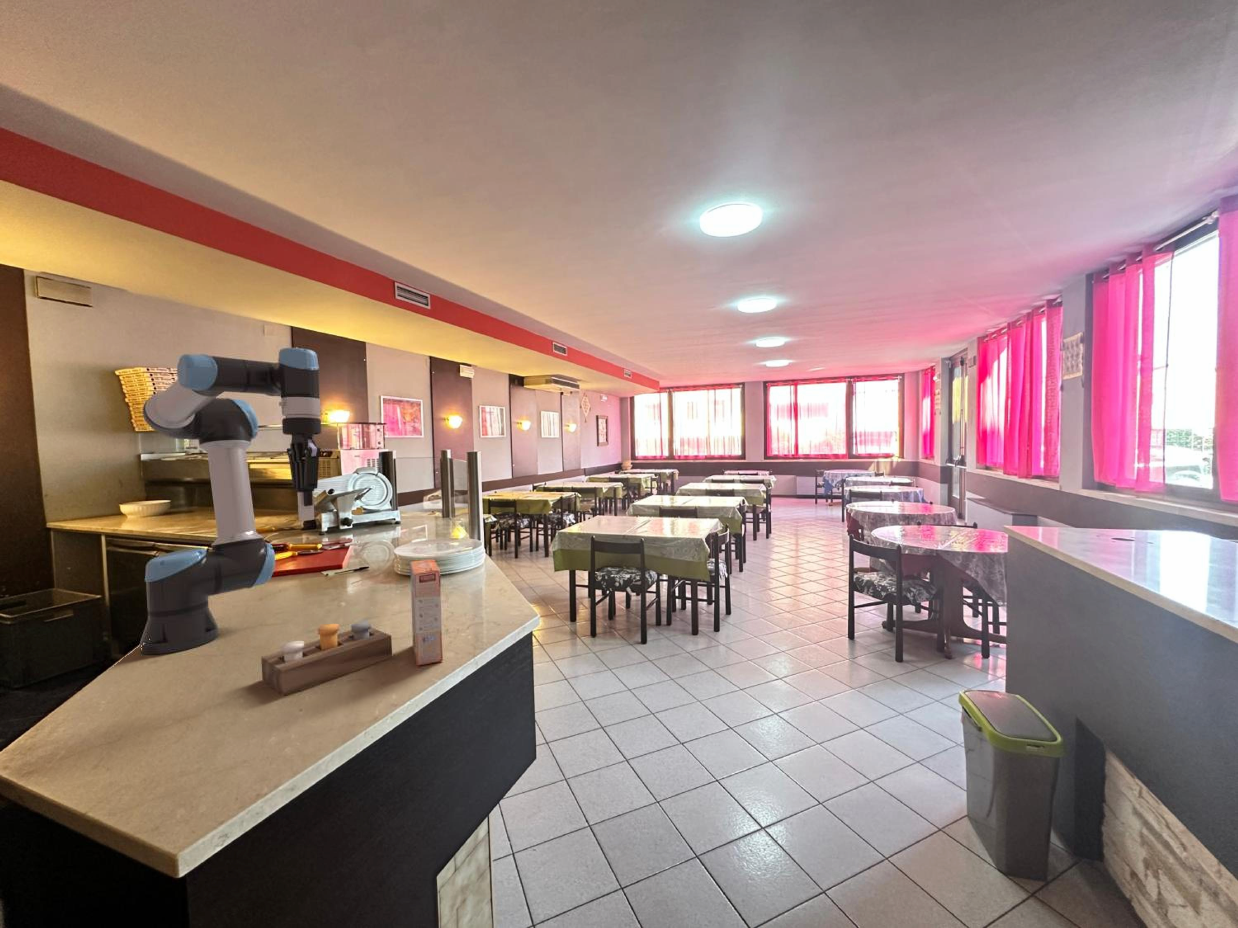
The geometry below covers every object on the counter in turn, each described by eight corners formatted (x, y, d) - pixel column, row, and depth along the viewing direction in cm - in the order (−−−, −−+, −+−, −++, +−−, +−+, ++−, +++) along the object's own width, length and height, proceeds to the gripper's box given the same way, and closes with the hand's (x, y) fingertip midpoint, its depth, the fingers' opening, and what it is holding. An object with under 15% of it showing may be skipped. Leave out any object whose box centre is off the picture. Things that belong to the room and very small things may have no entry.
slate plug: (349, 655, 116) (348, 625, 115) (366, 649, 119) (365, 620, 118) (357, 659, 113) (356, 628, 113) (375, 653, 116) (373, 623, 116)
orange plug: (316, 659, 110) (314, 627, 110) (335, 652, 113) (333, 622, 113) (323, 663, 107) (322, 631, 107) (343, 657, 111) (341, 626, 110)
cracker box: (444, 661, 112) (441, 569, 111) (415, 667, 109) (411, 573, 109) (438, 640, 125) (435, 557, 124) (412, 645, 122) (408, 560, 121)
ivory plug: (280, 678, 104) (278, 645, 104) (301, 671, 108) (299, 639, 107) (287, 683, 102) (285, 649, 102) (308, 676, 105) (307, 643, 105)
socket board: (262, 679, 105) (261, 656, 105) (367, 645, 123) (366, 625, 123) (283, 695, 98) (282, 670, 98) (392, 656, 115) (391, 635, 115)
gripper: (272, 418, 115) (277, 520, 116) (294, 415, 107) (299, 524, 108) (308, 419, 121) (312, 516, 122) (331, 416, 113) (336, 519, 114)
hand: (306, 519), depth 115 cm, fingers closed
